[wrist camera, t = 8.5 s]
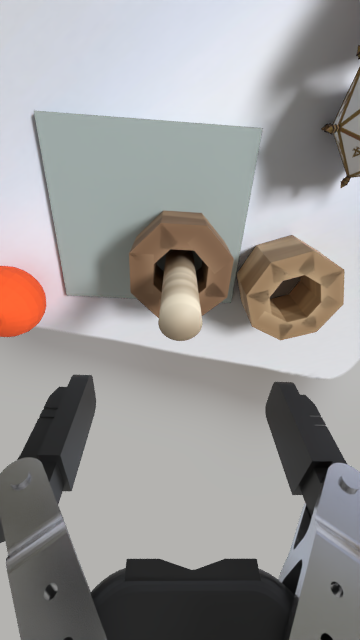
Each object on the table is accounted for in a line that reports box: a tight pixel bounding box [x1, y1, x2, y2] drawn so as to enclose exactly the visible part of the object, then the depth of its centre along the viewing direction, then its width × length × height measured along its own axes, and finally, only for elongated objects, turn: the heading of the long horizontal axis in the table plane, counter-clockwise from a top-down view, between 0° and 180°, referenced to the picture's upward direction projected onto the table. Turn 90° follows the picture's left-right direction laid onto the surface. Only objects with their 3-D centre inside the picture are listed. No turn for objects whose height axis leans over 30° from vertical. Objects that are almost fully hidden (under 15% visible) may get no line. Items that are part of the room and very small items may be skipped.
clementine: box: [0, 266, 46, 337], centre depth 27 cm, size 8×7×7 cm
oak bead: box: [236, 235, 344, 340], centre depth 27 cm, size 9×9×5 cm
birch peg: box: [159, 249, 202, 341], centre depth 22 cm, size 3×3×12 cm
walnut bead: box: [129, 210, 234, 318], centre depth 25 cm, size 9×9×5 cm
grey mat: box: [34, 111, 263, 303], centre depth 26 cm, size 16×18×1 cm
